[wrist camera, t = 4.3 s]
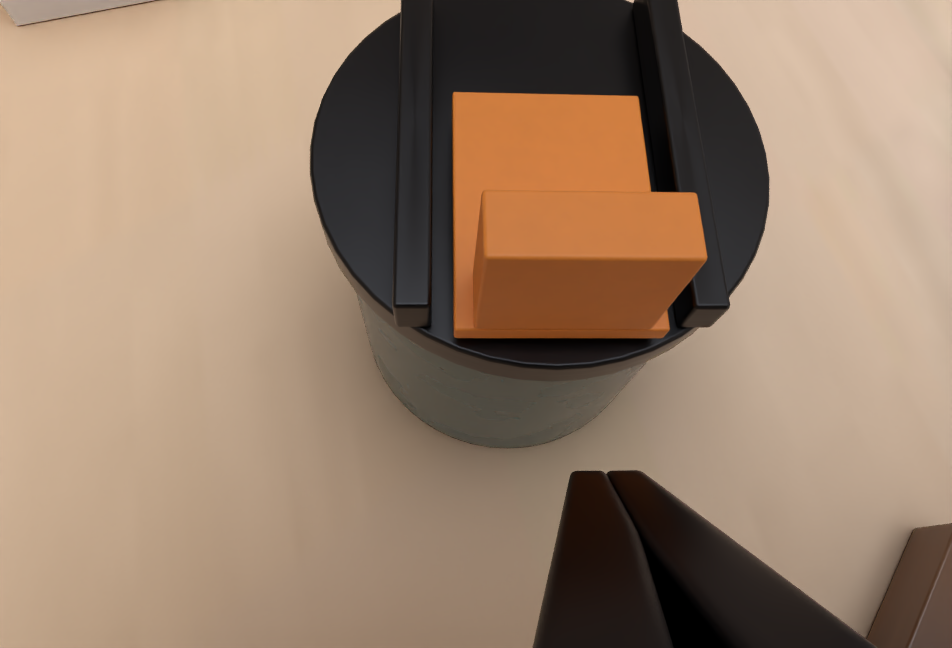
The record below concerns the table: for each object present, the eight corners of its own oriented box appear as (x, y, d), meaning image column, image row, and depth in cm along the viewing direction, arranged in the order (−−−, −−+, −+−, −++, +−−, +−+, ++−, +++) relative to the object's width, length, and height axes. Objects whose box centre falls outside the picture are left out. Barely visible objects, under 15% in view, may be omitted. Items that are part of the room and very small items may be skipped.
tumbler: (663, 457, 19) (844, 349, 10) (349, 461, 18) (277, 350, 10) (631, 191, 22) (749, -53, 14) (363, 188, 21) (317, -68, 13)
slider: (663, 339, 11) (734, 260, 8) (453, 339, 11) (458, 258, 8) (633, 109, 13) (684, -16, 10) (452, 105, 12) (455, -23, 10)
